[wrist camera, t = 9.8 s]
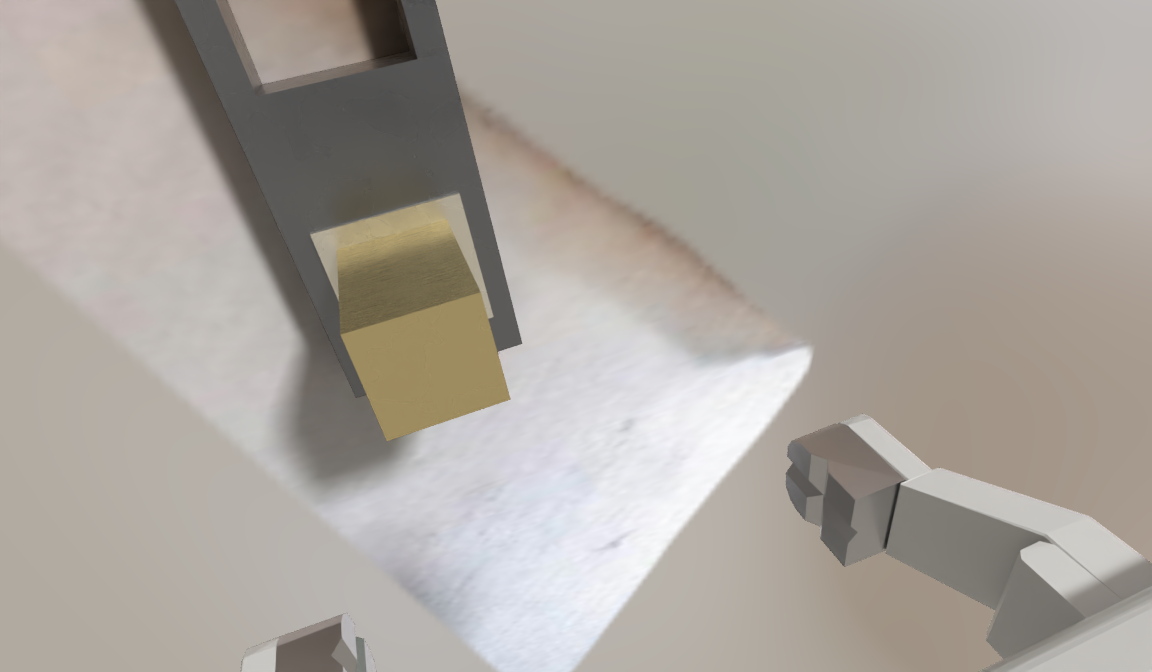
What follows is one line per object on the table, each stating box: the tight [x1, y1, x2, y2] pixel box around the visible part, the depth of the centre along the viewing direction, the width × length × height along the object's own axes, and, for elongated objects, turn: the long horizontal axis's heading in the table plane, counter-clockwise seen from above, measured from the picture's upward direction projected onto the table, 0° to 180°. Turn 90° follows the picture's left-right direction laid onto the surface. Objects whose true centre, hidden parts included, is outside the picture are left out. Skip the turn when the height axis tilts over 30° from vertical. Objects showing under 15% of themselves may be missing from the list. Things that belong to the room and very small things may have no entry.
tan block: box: [337, 219, 510, 441], centre depth 24 cm, size 4×4×7 cm
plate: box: [175, 0, 522, 398], centre depth 25 cm, size 22×8×3 cm, turn 10°
